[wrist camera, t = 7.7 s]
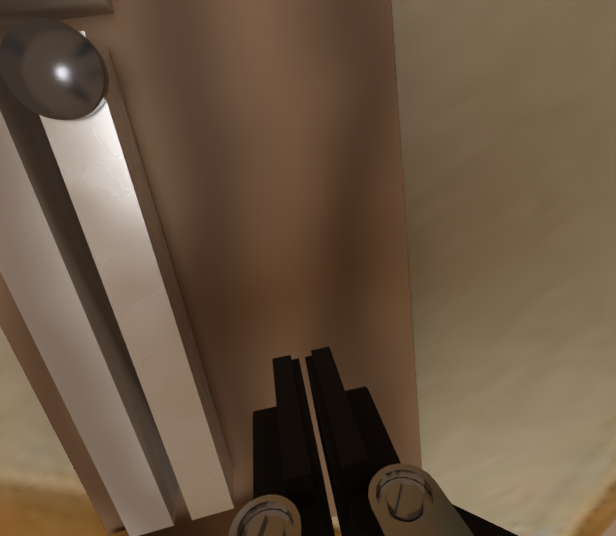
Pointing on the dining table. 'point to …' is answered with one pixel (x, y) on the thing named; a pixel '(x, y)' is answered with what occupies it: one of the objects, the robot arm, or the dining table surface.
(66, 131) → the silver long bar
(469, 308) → the dining table surface
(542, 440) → the dining table surface
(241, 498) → the tongs board
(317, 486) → the robot arm
